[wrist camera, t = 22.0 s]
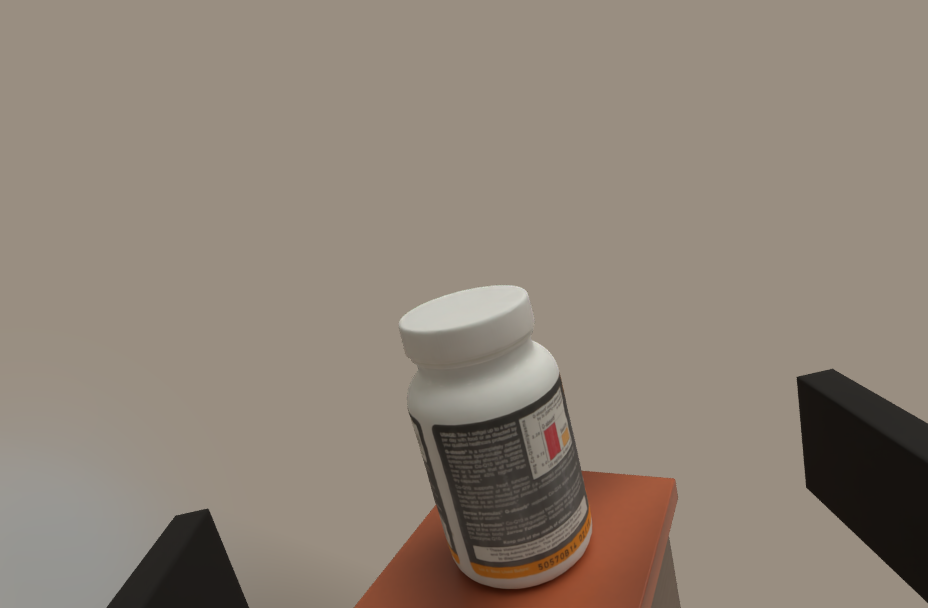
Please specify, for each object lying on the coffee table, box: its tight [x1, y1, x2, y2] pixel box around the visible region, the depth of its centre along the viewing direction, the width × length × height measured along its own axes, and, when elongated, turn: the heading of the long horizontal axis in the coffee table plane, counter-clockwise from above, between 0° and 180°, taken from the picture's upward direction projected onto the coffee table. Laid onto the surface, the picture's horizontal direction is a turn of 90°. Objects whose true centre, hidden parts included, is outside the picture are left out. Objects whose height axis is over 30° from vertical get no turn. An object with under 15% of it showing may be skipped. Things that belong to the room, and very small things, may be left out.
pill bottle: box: [399, 285, 592, 589], centre depth 21 cm, size 6×6×10 cm
